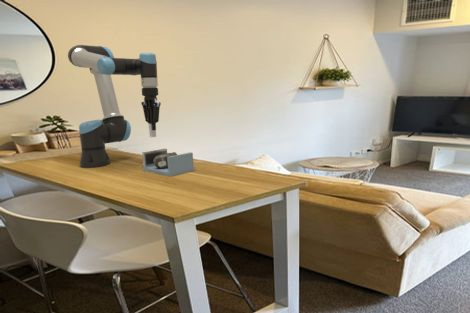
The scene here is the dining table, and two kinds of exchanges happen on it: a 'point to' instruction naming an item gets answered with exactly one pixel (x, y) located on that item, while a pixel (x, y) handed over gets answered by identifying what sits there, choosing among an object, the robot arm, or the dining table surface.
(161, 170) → the vise
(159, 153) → the jaw
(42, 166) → the dining table surface
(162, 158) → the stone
